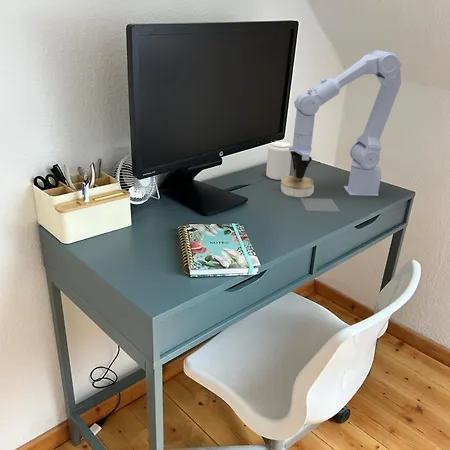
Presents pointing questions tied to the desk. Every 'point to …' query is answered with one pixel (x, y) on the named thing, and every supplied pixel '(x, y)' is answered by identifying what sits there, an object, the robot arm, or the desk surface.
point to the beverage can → (278, 160)
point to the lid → (297, 182)
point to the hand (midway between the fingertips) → (298, 175)
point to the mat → (319, 204)
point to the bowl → (297, 191)
